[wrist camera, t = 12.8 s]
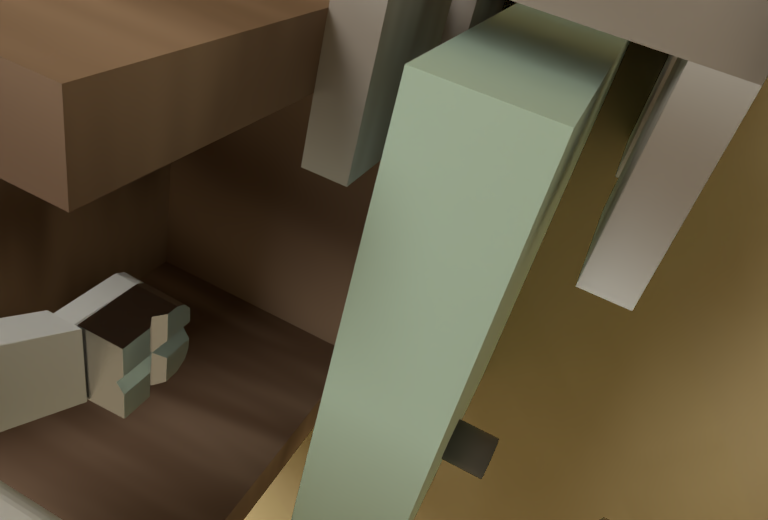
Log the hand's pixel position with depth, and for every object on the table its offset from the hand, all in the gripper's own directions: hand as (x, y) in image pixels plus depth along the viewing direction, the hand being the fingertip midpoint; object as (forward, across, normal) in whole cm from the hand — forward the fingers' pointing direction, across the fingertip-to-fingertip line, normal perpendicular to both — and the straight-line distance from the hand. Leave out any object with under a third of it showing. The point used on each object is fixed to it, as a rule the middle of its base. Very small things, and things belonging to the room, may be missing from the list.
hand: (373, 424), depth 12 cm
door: (+11, 0, +1) cm, 11 cm away
